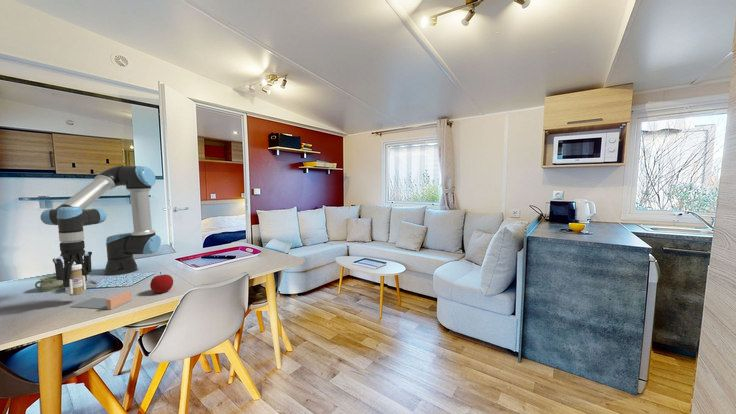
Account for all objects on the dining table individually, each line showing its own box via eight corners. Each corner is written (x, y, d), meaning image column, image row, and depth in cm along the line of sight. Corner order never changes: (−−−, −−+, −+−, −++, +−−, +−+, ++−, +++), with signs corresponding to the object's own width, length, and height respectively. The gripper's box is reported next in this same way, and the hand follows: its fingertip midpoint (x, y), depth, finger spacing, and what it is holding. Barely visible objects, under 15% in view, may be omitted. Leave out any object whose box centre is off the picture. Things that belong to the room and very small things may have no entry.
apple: (149, 296, 130) (148, 276, 129) (152, 290, 137) (151, 271, 137) (172, 292, 135) (171, 273, 134) (174, 286, 142) (173, 268, 141)
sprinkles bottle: (72, 296, 120) (69, 267, 118) (66, 294, 121) (64, 265, 120) (85, 292, 124) (83, 264, 123) (80, 291, 126) (78, 263, 124)
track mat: (93, 298, 127) (92, 289, 127) (131, 300, 125) (130, 291, 125) (70, 306, 118) (69, 297, 118) (111, 309, 116) (110, 300, 116)
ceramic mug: (65, 293, 133) (64, 278, 132) (70, 287, 139) (69, 273, 139) (95, 288, 139) (95, 274, 138) (99, 283, 146) (98, 270, 145)
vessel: (34, 294, 130) (33, 282, 130) (36, 289, 136) (35, 277, 136) (70, 288, 139) (69, 276, 138) (71, 283, 145) (70, 272, 144)
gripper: (86, 237, 129) (90, 283, 131) (39, 245, 112) (44, 298, 114) (100, 237, 129) (104, 284, 131) (54, 245, 111) (59, 300, 113)
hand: (76, 291), depth 122 cm, fingers closed on sprinkles bottle, 4 cm apart
